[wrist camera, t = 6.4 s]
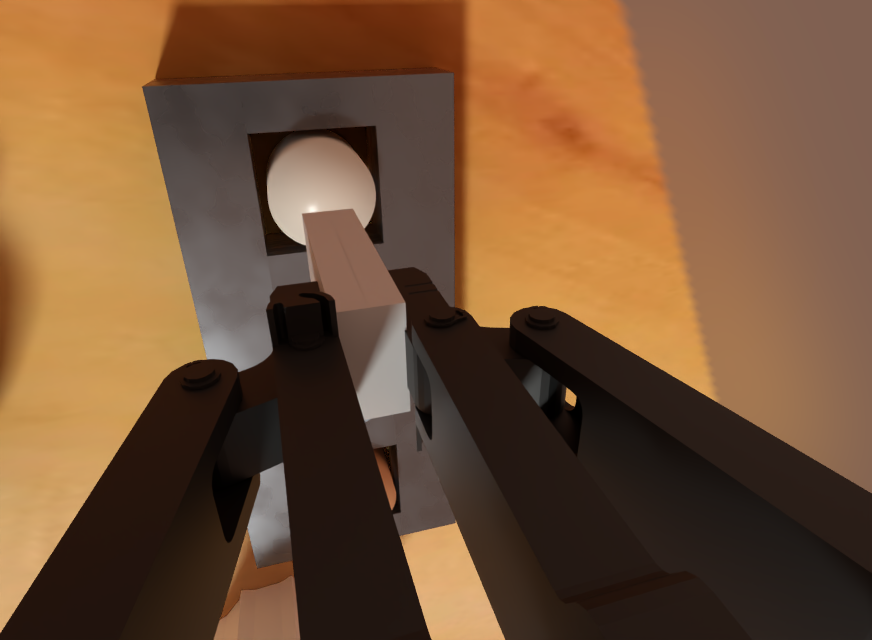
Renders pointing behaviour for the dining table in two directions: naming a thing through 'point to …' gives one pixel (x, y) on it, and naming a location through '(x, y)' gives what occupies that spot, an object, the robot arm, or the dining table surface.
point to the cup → (263, 615)
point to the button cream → (316, 180)
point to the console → (287, 259)
